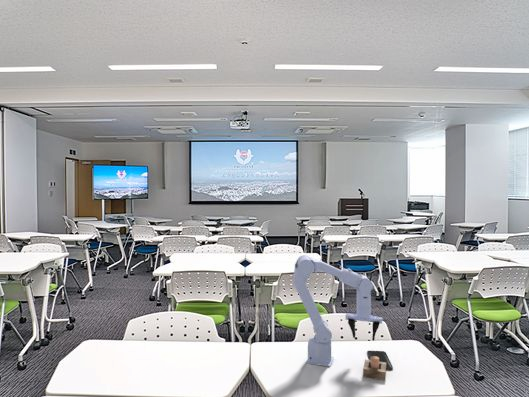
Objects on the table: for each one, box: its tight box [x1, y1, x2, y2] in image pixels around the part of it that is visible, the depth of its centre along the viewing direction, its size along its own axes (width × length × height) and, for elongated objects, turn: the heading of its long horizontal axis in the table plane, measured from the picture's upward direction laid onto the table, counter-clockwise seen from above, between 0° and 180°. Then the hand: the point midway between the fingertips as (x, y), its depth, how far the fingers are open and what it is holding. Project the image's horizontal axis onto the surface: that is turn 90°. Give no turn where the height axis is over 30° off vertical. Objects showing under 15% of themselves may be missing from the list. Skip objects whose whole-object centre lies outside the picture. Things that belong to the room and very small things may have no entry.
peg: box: [370, 356, 379, 369], centre depth 142 cm, size 3×3×6 cm
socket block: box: [362, 359, 387, 381], centre depth 142 cm, size 8×8×3 cm
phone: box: [366, 350, 394, 371], centre depth 152 cm, size 8×1×15 cm
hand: (363, 338), depth 152 cm, fingers open, 7 cm apart
